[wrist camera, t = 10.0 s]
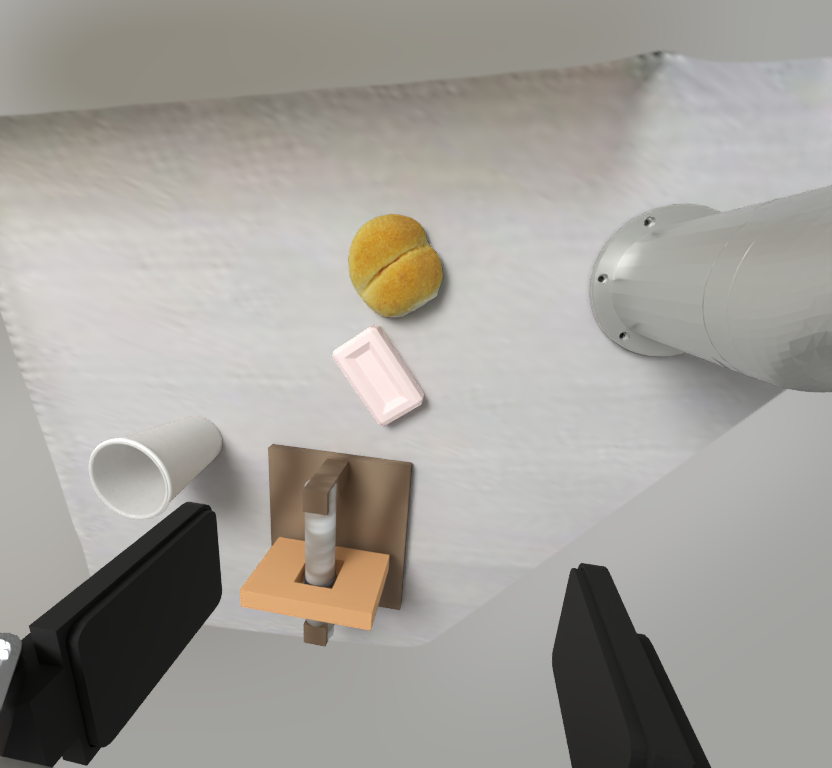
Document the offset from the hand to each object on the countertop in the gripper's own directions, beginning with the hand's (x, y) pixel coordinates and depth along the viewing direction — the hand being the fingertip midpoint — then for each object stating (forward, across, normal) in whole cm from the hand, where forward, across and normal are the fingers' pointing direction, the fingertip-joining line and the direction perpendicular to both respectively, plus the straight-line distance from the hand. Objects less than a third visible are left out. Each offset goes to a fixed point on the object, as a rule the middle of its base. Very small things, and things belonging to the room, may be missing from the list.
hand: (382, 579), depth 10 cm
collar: (+28, +11, +24) cm, 39 cm away
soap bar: (+31, +7, +3) cm, 32 cm away
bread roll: (+31, +6, -8) cm, 32 cm away
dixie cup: (+31, +28, +13) cm, 43 cm away
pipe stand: (+30, +11, +22) cm, 39 cm away
